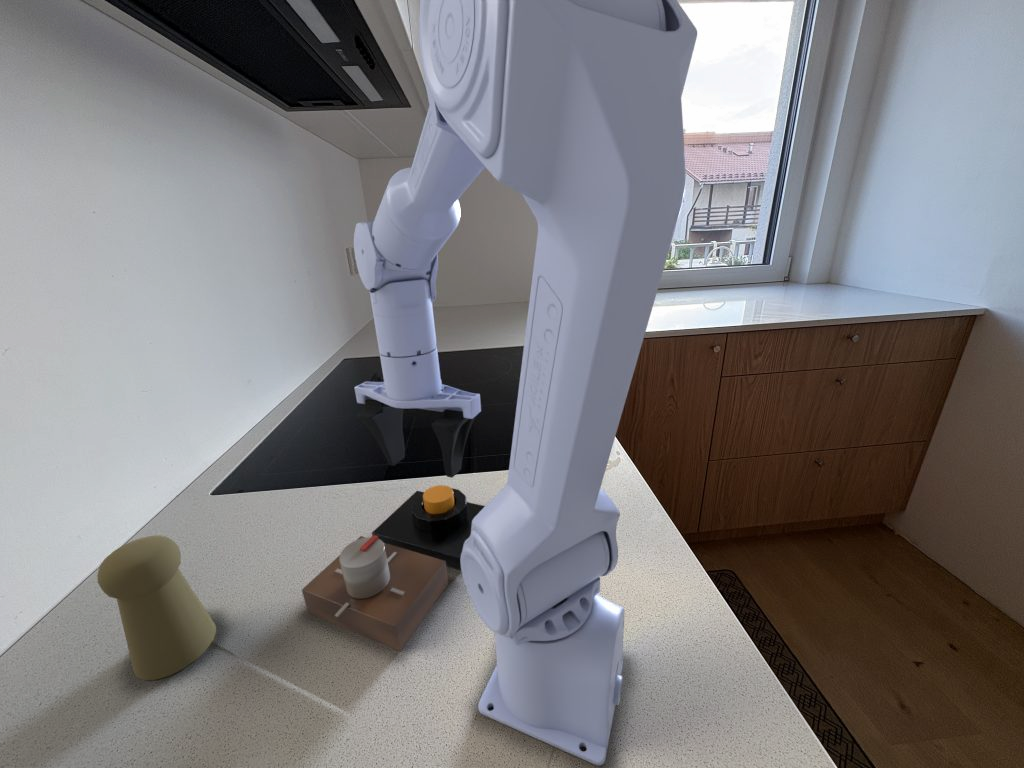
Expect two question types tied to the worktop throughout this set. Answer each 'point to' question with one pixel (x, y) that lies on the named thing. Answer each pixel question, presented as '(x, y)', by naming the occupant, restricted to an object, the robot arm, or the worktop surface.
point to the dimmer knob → (365, 567)
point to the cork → (156, 607)
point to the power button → (438, 499)
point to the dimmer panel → (381, 597)
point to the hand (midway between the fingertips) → (424, 466)
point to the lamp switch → (430, 528)
